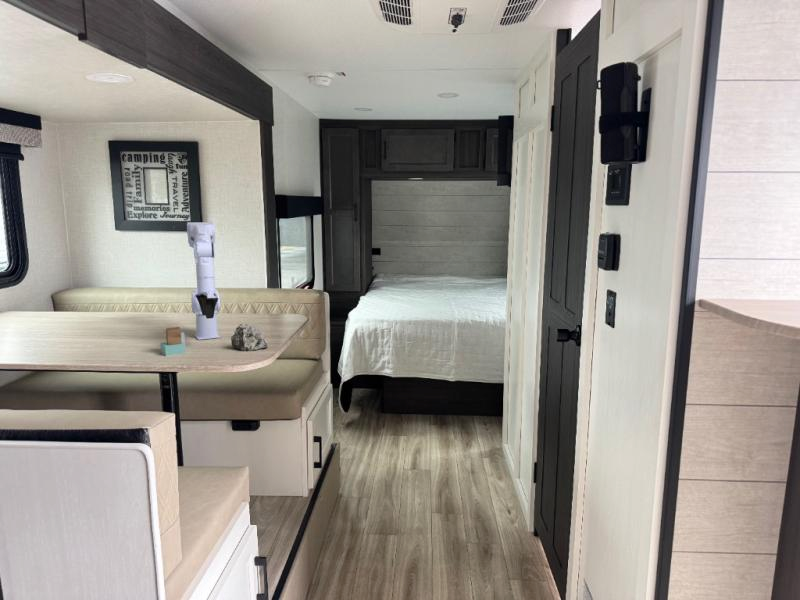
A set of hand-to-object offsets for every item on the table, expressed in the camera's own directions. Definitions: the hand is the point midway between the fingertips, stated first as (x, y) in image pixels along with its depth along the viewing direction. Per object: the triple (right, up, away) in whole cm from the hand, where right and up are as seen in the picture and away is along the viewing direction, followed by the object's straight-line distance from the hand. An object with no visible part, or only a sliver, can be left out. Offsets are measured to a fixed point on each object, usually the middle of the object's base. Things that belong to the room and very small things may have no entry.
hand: (207, 316), depth 182 cm
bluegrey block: (-11, -11, +1) cm, 15 cm away
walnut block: (-8, -9, -8) cm, 14 cm away
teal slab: (-9, -12, -7) cm, 17 cm away
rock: (+15, -11, 0) cm, 19 cm away
